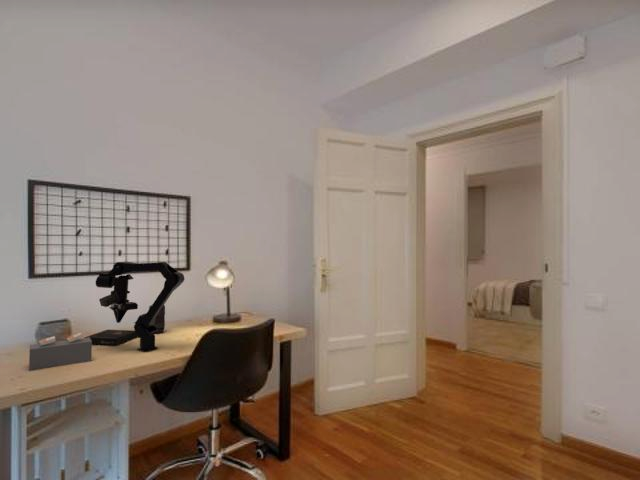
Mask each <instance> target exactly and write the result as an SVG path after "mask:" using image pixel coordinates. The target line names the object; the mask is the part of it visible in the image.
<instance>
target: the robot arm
mask: <svg viewBox="0 0 640 480" xmlns="http://www.w3.org/2000/svg"><path fill="white" fill-rule="evenodd" d="M145 271H146V272H150V271H153V272H154V271H158V272H160V274H161V276H162V277H163V278H164V279H165V280H164V284H163V288H162V290H161V291H160V292H159V294H158V296H157V297H156V299H155V300H154V302H153V303H152V306H151V305H150V306H151V307H150V309H149V308H148V311H147V312H146V313H145V312H144V313H143V314H140V315H138V317H137V319H136V321H135V322H134V325H133V328H134V330H133V331H135V332H136V333H137V336H138V337H137V338H138V339H139V347H138V348H136V350H137V351H140V352H144V353H145V352H146V353H147V352H149V351H153V350H156V349H157V350H158V349H159V347H158V346H156V336H155V335H158V334H157V332H158V329H157V328H156V327H155V326H154V323H155V319H156V316H157V314H158V313H159V311H160V310H161V308H162V307H163V305H165V304H166V303H167V301H168V299H169V298H170V297H171V295H172V293H173V292H174V291H176V290H177V289H178V288H179V287H180V286H181V285H182V284H183V283H184V282H185V275H184V274H183V273H182V272H181V271H178V270H177V269H176V268H174V267H173V266H171V265H170V264H169V263H168V262H166V261H160V262H141V263H140V262H138V263H137V262H133V261H125V260H124V261H118V262H115V263H114V264H113V267H112V269H111V270H110V271H109V272H108V273H106V272H99V274H98V276H97V277H96V280H95V286H96V287H97V288H104V289H112V288H113V290H111V291H110V294H109V295H106V296H103V297H101V298H99V300H98V301H99V304H100V306H101V307H104V308H107V307H108V308H109V309H110V310H112V311H113V314H114V317H115V322H116V324H120V323H121V322H122V320H123V318H124V316H125V314H126V313H127V311H131V310H132V311H133V310H138V307H139V306H138V303H137V302H134V301H130V299H128V294H130V293H131V292H130V290H129V280H130V281H131V280H134V277H133V276H132V275H131V273H134V272H145Z"/></svg>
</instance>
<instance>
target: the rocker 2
mask: <svg viewBox="0 0 640 480" xmlns="http://www.w3.org/2000/svg"><path fill="white" fill-rule="evenodd" d="M81 338H84V336H83V334H82V332H79V333H76V334H73V335H70V336H68V337H67V338H66V339H67V340H68V342H69V343H70V342H72V341H74V340H77V339H81Z"/></svg>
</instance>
